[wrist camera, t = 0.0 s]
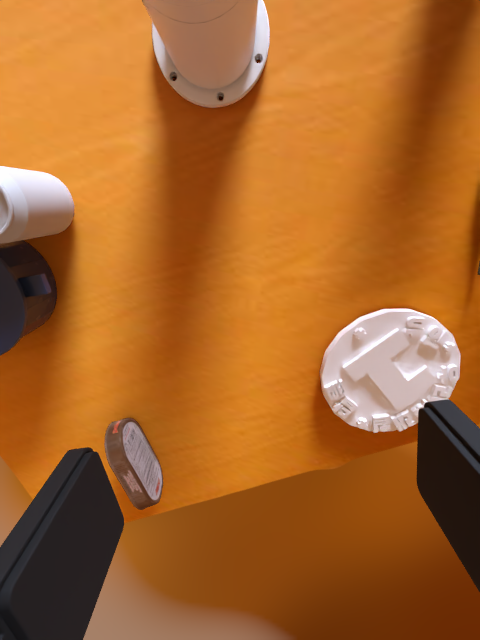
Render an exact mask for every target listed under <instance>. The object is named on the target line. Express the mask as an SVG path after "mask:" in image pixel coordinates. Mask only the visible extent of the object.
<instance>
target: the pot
mask: <svg viewBox="0 0 480 640" xmlns="http://www.w3.org/2000/svg"><path fill="white" fill-rule="evenodd" d="M0 258H1V259H2V260H3V261H4V262H5V263H6V264H7V265H8V266H9V268H10V269H11V270H12V272H13V273H14V274H15V276H16V278H17V279H18V281H19V283H20V285H21V287H22V289H23V292H24V295H25V298H26V303H27V313H28V314H27V323H26V327H25V330H24V333H23V335H22V337H24V336H25V335H27V334H28V333H30V332H32V331H33V330H35V329H36V328H38V327H40V326H41V325H43V324H44V323H45V322H46V321H47V320H48V319H49V317H50V316H51V314H52V312H53V310H54V308H55V304H56V299H57V288H56V282H55V279H54V276H53V273H52V271H51V269H50V267H49V266H48V264H47V262H46V261H45V260H44V258H43V257H42V256H41V255H40V253H39V252H38V251H37V250H36V249H34V248H33V247H32V246H31V245H30V244H28V243H27V242H25V241H24V240H21V241H15V242H10V243H2V244H0ZM22 337H21V338H22Z"/></svg>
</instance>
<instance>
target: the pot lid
mask: <svg viewBox="0 0 480 640" xmlns="http://www.w3.org/2000/svg"><path fill="white" fill-rule="evenodd" d="M27 314H28V313H27V303H26V298H25V295H24V292H23V289H22V287H21V285H20V283H19V281H18V279H17V278H16V276H15V274H14V273H13V272H12V270H11V269H10V268H9V266H8V265H7V264H6V263H5V262H4V261H3V260H2V259H1V258H0V355H2V354H4V353H6V352H7V351H9V350H10V349H11V348H12V347H14V346H15V345H16V344H17V342H18V341H19V340H20V338H21V337H22V335H23V333H24V330H25V327H26V323H27Z"/></svg>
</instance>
